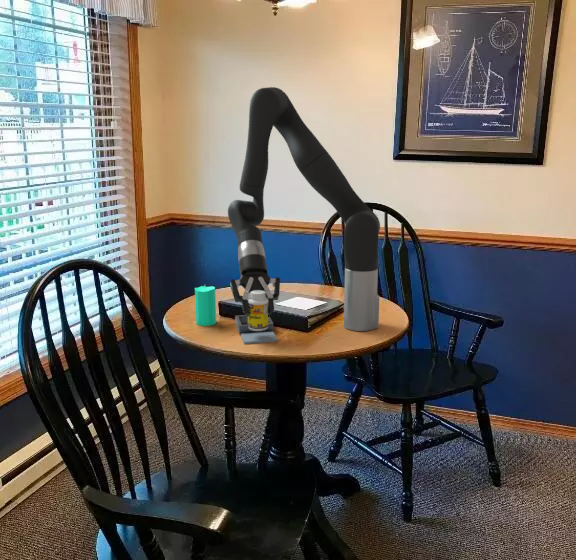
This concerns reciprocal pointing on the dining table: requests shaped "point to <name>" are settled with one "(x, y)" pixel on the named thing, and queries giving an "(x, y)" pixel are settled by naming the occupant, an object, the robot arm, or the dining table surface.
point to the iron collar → (244, 328)
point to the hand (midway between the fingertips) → (259, 313)
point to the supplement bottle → (258, 311)
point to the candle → (205, 306)
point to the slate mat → (259, 337)
